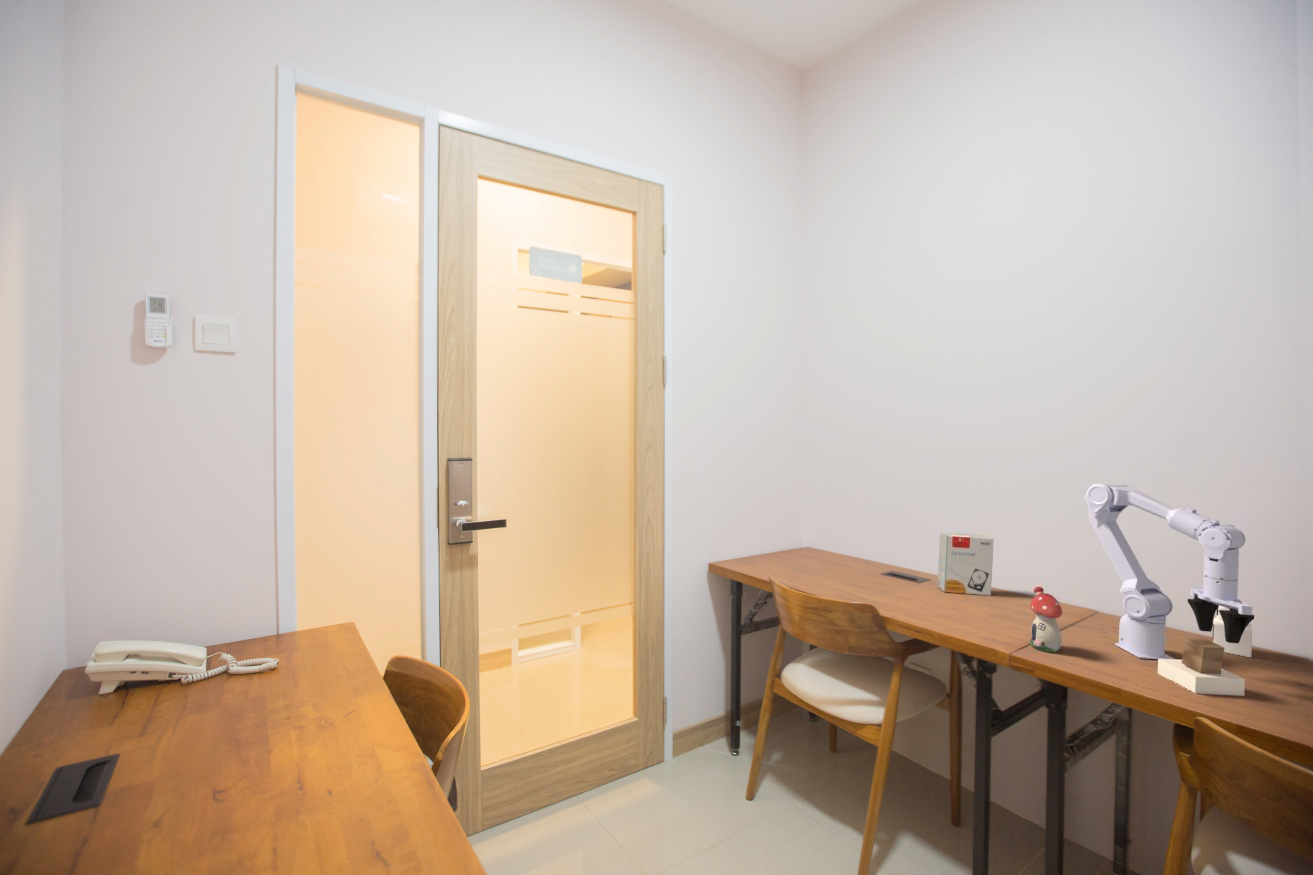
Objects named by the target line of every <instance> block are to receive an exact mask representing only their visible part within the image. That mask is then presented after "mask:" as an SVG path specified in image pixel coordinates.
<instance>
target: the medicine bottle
mask: <svg viewBox="0 0 1313 875" xmlns="http://www.w3.org/2000/svg"><path fill="white" fill-rule="evenodd" d="M1219 610H1229V611H1230V609H1228V608H1225V607H1223V606H1220V605H1219V606H1218V607H1217V610H1216V617H1214V620H1213V627H1212V640H1211V641H1212V642H1214V643H1216V644H1218V645H1220V646H1222V647H1224V654H1230V655H1231V654H1232V655H1236V656H1239V655H1240V657H1244V656H1245V658H1249V657H1250V658H1252V650H1253V647H1252V646H1253V643H1252V642H1253V625H1252V624H1251V623H1249V624H1248V625H1247V627H1246V628H1245V630H1244V632H1243V634H1242V636H1241V639H1240V641H1239V643H1228V642H1226V639H1225V629H1224V623H1223V619H1222V617H1221V615H1220V613H1219Z"/></svg>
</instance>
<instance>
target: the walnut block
mask: <svg viewBox="0 0 1313 875" xmlns="http://www.w3.org/2000/svg"><path fill="white" fill-rule="evenodd" d="M1183 643H1184V644H1183V649H1182V659H1181V660H1182V664H1184V665H1186V666H1188V667H1190V668H1191V669H1193V670H1195V671H1197V672H1199V673H1205V674H1221V669H1223V663H1224V662H1223V661H1224V654H1225V652H1224V647H1222V646H1220V645H1218V644H1216V643H1214V642H1212V640H1209V639H1207V638H1206V637H1184V642H1183Z"/></svg>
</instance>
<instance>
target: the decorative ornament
mask: <svg viewBox="0 0 1313 875" xmlns="http://www.w3.org/2000/svg"><path fill="white" fill-rule="evenodd" d="M1044 590H1045V589H1044V588H1043V587H1041V586H1036V587H1034V588H1033V593H1034V594H1035V596H1034V597H1033V598H1032V600H1031V602H1030V604H1029V607H1030V609H1031V611H1032V612H1033V613H1034V614H1036V616H1035V619H1034V620H1033V622H1032V624H1031V629H1030V634H1031V638H1030V640H1029V644H1030V646H1031V647H1032V648H1033V649H1034V650H1038V651H1040V652H1046V653H1057V652H1059V650H1060V649H1061V647H1062V641H1063V640H1062V639H1063V637H1062V636H1063V635H1062V632H1061V629H1060V627H1059V624H1058V621H1057V619H1059V618H1060V617H1061V616H1063V610H1062V606H1061V604H1060V602H1059V601H1058V599H1056V597H1054V596H1053V595H1052V594H1049V593H1044Z"/></svg>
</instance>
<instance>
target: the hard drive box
mask: <svg viewBox="0 0 1313 875" xmlns="http://www.w3.org/2000/svg"><path fill="white" fill-rule="evenodd" d="M994 541H995V540H994V538H993V537H991V536H988V535H986V534H975V533H960V532H943V531H942V532H939V546H938V547H939V549H938V570H937V571H938V572H937V587H938V588H939V589H940V591H942V592H943V593H953V594H969V595H978V596H990V597H991V596H992V578H993V557H994Z"/></svg>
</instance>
